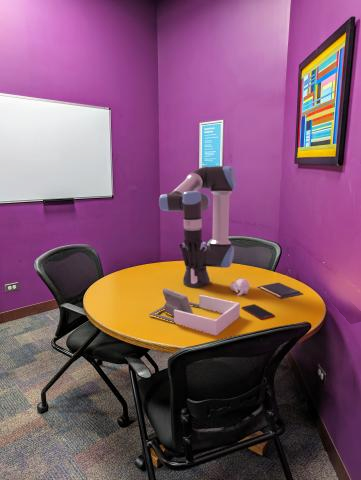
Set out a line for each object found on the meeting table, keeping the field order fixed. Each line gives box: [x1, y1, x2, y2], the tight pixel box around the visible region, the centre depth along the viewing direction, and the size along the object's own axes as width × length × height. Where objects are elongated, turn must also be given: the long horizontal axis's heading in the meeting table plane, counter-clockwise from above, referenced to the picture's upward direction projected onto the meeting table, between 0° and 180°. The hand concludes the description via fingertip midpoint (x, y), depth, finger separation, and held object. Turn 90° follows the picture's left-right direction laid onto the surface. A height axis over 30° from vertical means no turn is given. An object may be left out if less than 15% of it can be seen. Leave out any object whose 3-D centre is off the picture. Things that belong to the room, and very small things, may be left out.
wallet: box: [256, 282, 304, 300], centre depth 179 cm, size 20×2×15 cm
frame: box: [148, 301, 199, 322], centre depth 156 cm, size 13×21×1 cm, turn 145°
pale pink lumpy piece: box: [230, 277, 251, 297], centre depth 176 cm, size 6×8×12 cm
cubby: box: [173, 294, 241, 336], centre depth 146 cm, size 20×21×6 cm
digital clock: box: [162, 288, 194, 317], centre depth 152 cm, size 16×9×11 cm, turn 29°
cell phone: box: [241, 304, 276, 321], centre depth 152 cm, size 8×15×1 cm, turn 25°
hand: (194, 282), depth 147 cm, fingers closed
